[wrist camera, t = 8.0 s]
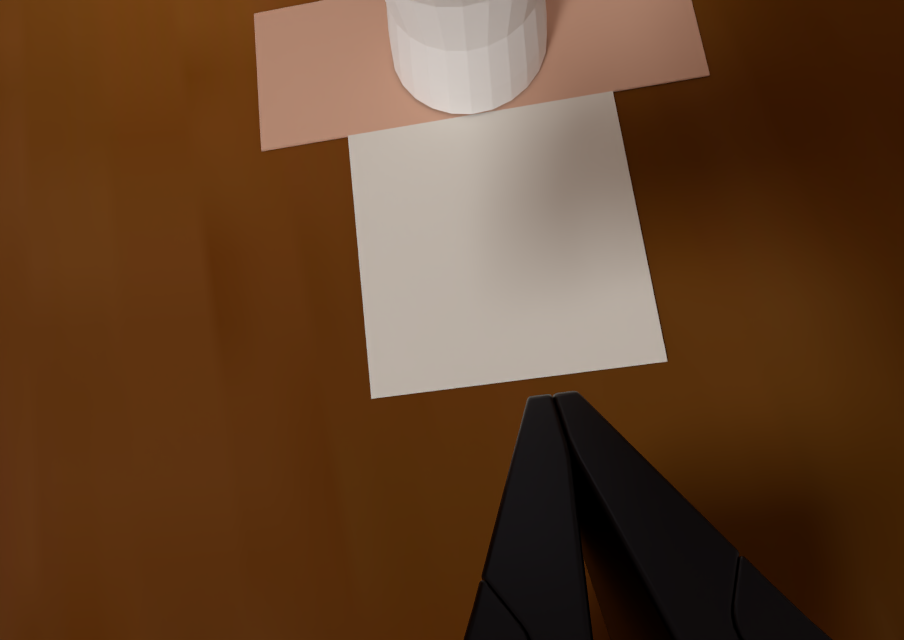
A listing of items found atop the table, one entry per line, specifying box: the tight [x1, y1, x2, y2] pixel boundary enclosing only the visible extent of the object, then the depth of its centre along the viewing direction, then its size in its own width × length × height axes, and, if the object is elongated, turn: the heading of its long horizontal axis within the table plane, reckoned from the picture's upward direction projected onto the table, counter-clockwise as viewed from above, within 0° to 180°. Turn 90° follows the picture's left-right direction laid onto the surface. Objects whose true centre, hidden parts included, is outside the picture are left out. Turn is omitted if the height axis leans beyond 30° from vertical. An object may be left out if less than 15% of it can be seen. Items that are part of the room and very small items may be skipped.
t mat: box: [254, 0, 710, 399], centre depth 23 cm, size 21×22×1 cm
